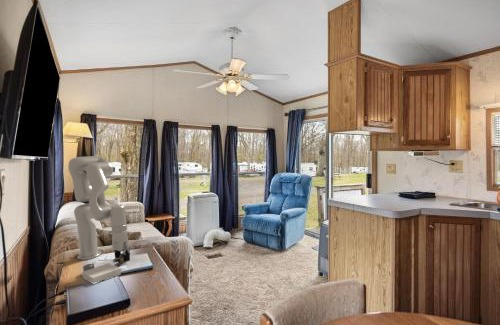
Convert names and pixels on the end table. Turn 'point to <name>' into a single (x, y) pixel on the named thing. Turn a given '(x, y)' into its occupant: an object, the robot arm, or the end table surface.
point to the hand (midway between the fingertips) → (122, 259)
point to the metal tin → (88, 267)
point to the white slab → (101, 273)
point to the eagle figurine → (119, 260)
